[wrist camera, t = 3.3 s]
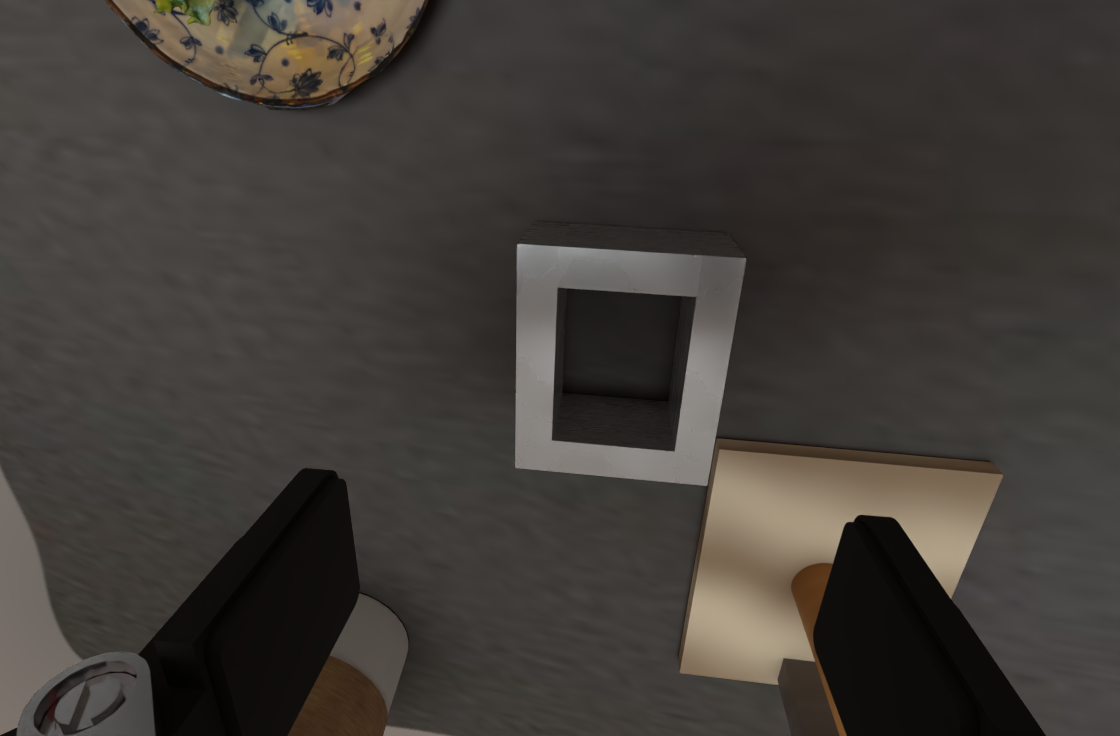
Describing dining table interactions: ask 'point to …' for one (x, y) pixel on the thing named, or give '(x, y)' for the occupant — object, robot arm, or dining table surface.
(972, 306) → the dining table surface
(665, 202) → the dining table surface
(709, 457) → the link
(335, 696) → the coffee cup
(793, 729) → the keeper
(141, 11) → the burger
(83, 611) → the dining table surface
